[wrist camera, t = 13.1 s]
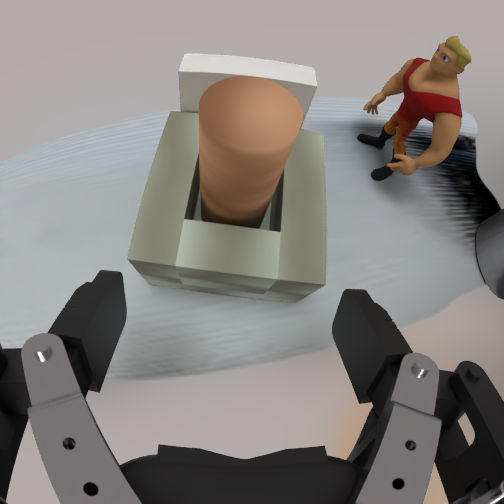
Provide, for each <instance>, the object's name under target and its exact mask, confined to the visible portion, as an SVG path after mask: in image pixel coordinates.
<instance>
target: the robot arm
mask: <svg viewBox="0 0 504 504" xmlns="http://www.w3.org/2000/svg"><path fill="white" fill-rule="evenodd" d="M476 251H477V258H478V262H479V266H480V269H481V272H482V275H483V277H484V279H485V281H486V283H487V285H488V287H489V288H490V290H491V291H492V292H493V293H494V294H495V295H496V296H497V297H499V298H501V299H504V209H502V210H501V211H499V212H497V213H496V214H494V215H493V216H491V217H490V218H488V219H486V220H485V221H483V222H482V223H481V224H480V225H479V227H478V230H477V235H476ZM126 315H127V308H126V300H125V292H124V283H123V276H122V273H121V272H117V271H108V270H100V271H99V273H98V274H97V276H96V277H95V279H94V280H93V281H92V283H91V282H86V283H85V284H83V285H82V286H80V287H79V288H77V289H76V291H75V292H74V293H73V295H72V296H71V298H70V300H69V301H68V302H67V304H66V305H65V308H63V309H62V311H61V313H60V314H59V316H58V317H57V319H56V320H55V322H54V323H53V325H52V326H51V328H50V330H49V331H48V333H42V334H38V335H35V336H33V337H31V338H30V339H29V340H27V341H26V343H25V344H24V345H23V347H22V348H15V349H3V348H2V346H1V344H0V504H7V502H6V498H7V493H8V488H9V484H10V480H11V475H12V471H13V467H14V464H15V460H16V457H17V453H18V450H19V446H20V443H21V440H22V437H23V433H24V430H25V428H26V425H27V422H28V419H30V422H31V427H32V430H33V433H34V437H35V440H36V443H37V446H38V449H39V452H40V455H41V458H42V460H43V463H44V466H45V468H46V471H47V473H48V476H49V478H50V481H51V483H52V486H53V488H54V490H55V493H56V495H57V497H58V499H59V501H60V503H61V504H423V501H424V498H425V494H426V491H427V488H428V484H429V480H430V476H431V473H432V469H433V464H434V462H435V464H436V467H437V470H438V473H439V475H440V478H441V481H442V484H443V487H444V490H445V493H446V496H447V499H448V502H449V504H504V402H503V400H502V398H501V397H500V395H499V393H498V392H497V390H496V389H495V387H494V385H493V384H492V382H491V380H490V379H489V377H488V376H487V374H486V373H485V371H484V370H483V369H482V368H481V367H480V366H479V365H477V364H476V363H473V362H470V361H463V362H461V363H460V364H459V365H458V367H457V368H456V370H455V371H454V372H451V371H443V370H439V369H438V367H437V365H436V364H435V362H434V361H433V360H431V359H430V358H429V357H427V356H425V355H423V354H419V353H413V351H412V350H411V348H410V347H409V345H408V343H407V342H406V340H405V339H404V337H403V336H402V334H401V332H400V331H399V329H397V326H396V325H395V323H394V322H392V319H391V317H390V316H389V314H388V313H387V311H386V310H385V309H383V308H382V307H381V306H380V305H378V304H377V303H374V301H373V300H372V298H371V297H370V295H369V294H368V292H367V291H366V290H362V289H345V290H344V292H343V294H342V297H341V300H340V303H339V306H338V309H337V312H336V315H335V318H334V321H333V325H332V334H333V338H334V341H335V343H336V346H337V348H338V350H339V353H340V355H341V358H342V361H343V363H344V366H345V368H346V370H347V373H348V375H349V378H350V381H351V383H352V386H353V389H354V391H355V394H356V396H357V399H358V401H359V404H361V403H369V402H372V404H373V408H372V409H371V411H370V412H369V415H368V417H367V420H366V422H365V424H364V427H363V429H362V431H361V434H360V436H359V438H358V440H357V442H356V444H355V447H354V449H353V451H352V452H351V454H350V455H349V457H348V458H347V460H344V459H340V458H336V457H332V456H327V454H326V450H325V446H318V447H308V448H296V449H285V450H282V451H278V452H274V453H271V454H267V455H263V456H259V457H255V458H250V459H239V458H234V457H230V456H226V455H222V454H218V453H214V452H211V451H207V450H203V449H198V448H186V447H176V446H168V445H167V446H166V445H159V446H158V454H157V455H149V456H143V457H139V458H136V459H133V460H130V461H128V462H126V463H124V464H122V465H119V463H118V462H117V460H116V458H115V457H114V455H113V453H112V452H111V450H110V448H109V446H108V444H107V442H106V440H105V439H104V437H103V435H102V433H101V431H100V429H99V427H98V425H97V423H96V421H95V419H94V416H93V414H92V412H91V410H90V408H89V406H88V403H87V401H86V399H85V398H86V395H87V392H88V390H90V391H95V392H100V390H101V386H102V384H103V381H104V378H105V375H106V373H107V370H108V367H109V364H110V362H111V359H112V356H113V354H114V351H115V348H116V346H117V343H118V340H119V338H120V335H121V333H122V330H123V328H124V325H125V322H126ZM464 413H466V415H467V417H468V418H469V421H470V422H471V424H472V427H473V429H474V431H475V439H474V441H473V443H472V444H471V445H470V446H469V445H468V442H467V440H466V438H465V436H464V434H463V431H462V429H461V427H460V425H459V423H458V420H459V419H460V418H461V416H462V415H463V414H464Z"/></svg>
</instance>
